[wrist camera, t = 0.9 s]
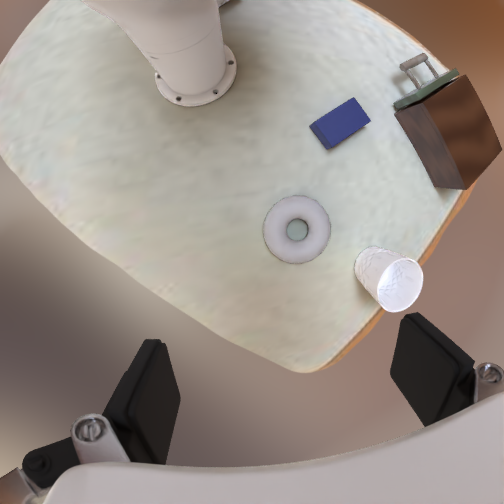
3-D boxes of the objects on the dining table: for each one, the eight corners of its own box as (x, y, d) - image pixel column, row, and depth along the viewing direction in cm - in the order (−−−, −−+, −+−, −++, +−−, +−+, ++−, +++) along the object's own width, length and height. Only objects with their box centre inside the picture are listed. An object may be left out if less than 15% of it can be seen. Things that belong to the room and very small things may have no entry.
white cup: (398, 262, 43) (431, 281, 33) (369, 296, 44) (396, 322, 34) (373, 232, 41) (405, 246, 32) (341, 268, 43) (366, 291, 33)
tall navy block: (326, 149, 38) (332, 147, 35) (309, 126, 37) (314, 122, 34) (363, 124, 37) (371, 120, 34) (347, 102, 36) (353, 96, 33)
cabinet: (393, 114, 37) (422, 103, 28) (437, 85, 35) (465, 74, 26) (434, 187, 40) (466, 190, 31) (472, 150, 38) (502, 149, 30)
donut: (338, 215, 41) (282, 182, 39) (346, 218, 37) (286, 182, 36) (306, 270, 43) (250, 241, 41) (311, 278, 39) (251, 246, 38)
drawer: (375, 79, 34) (395, 65, 28) (419, 56, 33) (439, 44, 26) (432, 171, 38) (457, 171, 32) (468, 139, 37) (492, 136, 30)
